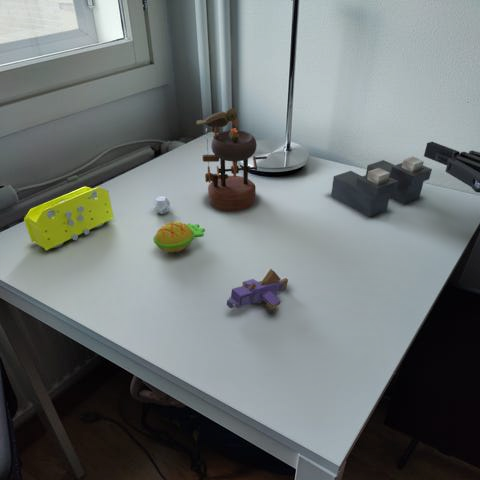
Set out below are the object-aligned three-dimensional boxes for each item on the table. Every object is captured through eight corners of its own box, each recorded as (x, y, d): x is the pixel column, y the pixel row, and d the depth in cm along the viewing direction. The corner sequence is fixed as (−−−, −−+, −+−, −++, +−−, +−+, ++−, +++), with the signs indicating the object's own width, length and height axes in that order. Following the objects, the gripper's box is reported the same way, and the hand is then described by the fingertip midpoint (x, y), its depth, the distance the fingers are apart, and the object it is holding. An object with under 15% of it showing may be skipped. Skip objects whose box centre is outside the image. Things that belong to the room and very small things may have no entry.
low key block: (423, 199, 103) (432, 169, 98) (405, 206, 101) (413, 175, 96) (380, 178, 111) (386, 149, 106) (362, 184, 109) (368, 155, 104)
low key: (421, 170, 99) (424, 161, 98) (412, 173, 98) (414, 164, 96) (410, 165, 101) (412, 156, 99) (401, 168, 100) (403, 159, 98)
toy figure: (243, 334, 73) (245, 313, 69) (214, 301, 77) (214, 279, 72) (301, 301, 77) (306, 279, 73) (271, 271, 81) (273, 249, 77)
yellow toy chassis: (48, 255, 87) (35, 215, 82) (32, 244, 90) (18, 205, 84) (115, 222, 96) (108, 184, 91) (99, 213, 99) (90, 176, 94)
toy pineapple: (149, 247, 89) (145, 222, 85) (193, 231, 93) (191, 207, 90) (165, 264, 85) (162, 238, 81) (212, 246, 89) (210, 222, 85)
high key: (387, 182, 95) (389, 172, 93) (377, 186, 93) (379, 176, 92) (376, 177, 97) (378, 167, 95) (366, 180, 95) (368, 171, 94)
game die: (157, 206, 101) (156, 194, 99) (173, 208, 101) (172, 196, 99) (151, 214, 99) (149, 201, 97) (167, 216, 98) (165, 203, 96)
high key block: (391, 212, 99) (398, 181, 94) (371, 219, 96) (377, 188, 92) (348, 189, 107) (353, 160, 102) (329, 196, 104) (333, 166, 100)
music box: (209, 217, 98) (201, 116, 86) (197, 198, 106) (188, 104, 94) (276, 205, 101) (277, 107, 89) (259, 188, 110) (258, 96, 98)
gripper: (508, 222, 79) (401, 174, 94) (550, 202, 84) (443, 159, 99) (526, 180, 74) (410, 137, 89) (569, 162, 79) (453, 123, 94)
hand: (427, 148), depth 94 cm, fingers closed
